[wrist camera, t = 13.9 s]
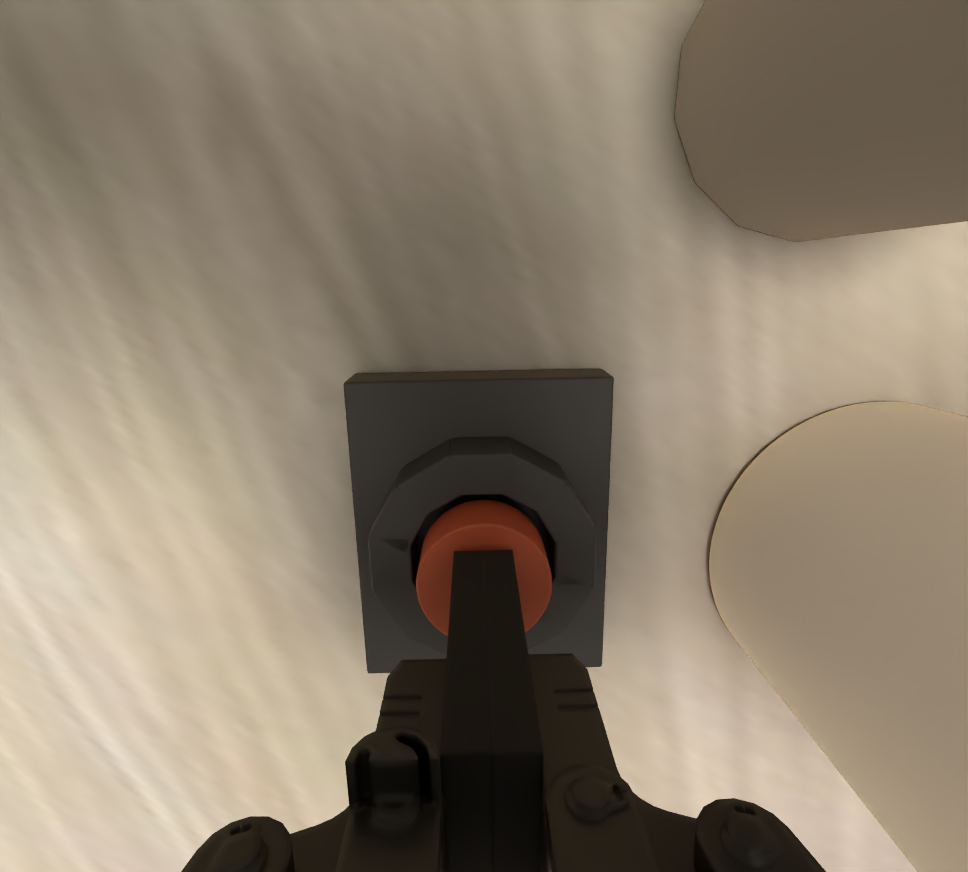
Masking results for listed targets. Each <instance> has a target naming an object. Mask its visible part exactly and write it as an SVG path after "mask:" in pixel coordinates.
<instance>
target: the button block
mask: <svg viewBox="0 0 968 872" xmlns="http://www.w3.org/2000/svg"><path fill="white" fill-rule="evenodd" d="M613 384H614V378H613V377H612V376H611V375H609V374H608V373H606V372H605V371H604V370H602V369H553V370H505V371H458V372H410V373H362V374H354V375H353V376H352V377H351V378H349V379H348V380H347V381H346V382H344V396H345V408H346V420H347V432H348V444H349V456H350V468H351V480H352V492H353V504H354V517H355V529H356V541H357V553H358V565H359V577H360V589H361V601H362V613H363V625H364V637H365V650H366V662H367V671H368V673H391V672H392V671H393V669H394V668H395V667H396V666H397V664H398V663H399V662H400V661H401V660H412V659H446V657H447V643H448V636H447V635H445V634H443V633H442V632H441V631H439V630H438V629H437V628H436V627H435V626H434V625H433V624H432V623H431V622H430V621H429V620H428V618H427V617H426V615H425V614H424V612H423V610H422V608H421V606H420V604H419V600H418V597H417V590H416V579H417V573H418V567H419V562H420V557H421V551H422V546H423V542H424V539H425V536H426V534H427V532H428V530H429V529H430V527H431V526H432V524H433V523H434V522H435V521H436V520H437V519H438V518H439V517H440V516H441V515H442V514H443V513H445V512H446V511H448V510H449V509H451V508H453V507H455V506H457V505H459V504H462V503H465V502H470V501H475V500H492V501H498V502H502V503H505V504H508V505H510V506H512V507H514V508H516V509H518V510H519V511H521V512H522V513H524V514H525V515H526V516H527V517H528V518H529V519H530V520H531V521H532V522H533V524H534V525H535V526H536V528H537V529H538V531H539V533H540V535H541V538H542V541H543V544H544V548H545V552H546V555H547V559H548V563H549V566H550V571H551V576H552V591H551V596H550V600H549V602H548V605H547V607H546V609H545V611H544V613H543V615H542V616H541V617H540V619H539V620H538V621H537V622H536V623H535V624H534V625H533V627H532V628H530V629H529V630H528V631H526V632H525V635H526V642H527V648H528V654H562V653H573V655H574V656H575V657H576V658H577V659H578V660H579V661H580V662H581V663H582V664H583V665H584V666H585V667H600V666H601V665H602V651H603V626H604V602H605V578H606V554H607V530H608V505H609V481H610V457H611V433H612V409H613Z"/></svg>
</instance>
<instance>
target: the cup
mask: <svg viewBox="0 0 968 872" xmlns="http://www.w3.org/2000/svg"><path fill="white" fill-rule="evenodd" d="M674 119H675V122H676V125H677V129H678V132H679V135H680V138H681V141H682V144H683V147H684V150H685V153H686V156H687V160H688V163H689V166H690V169H691V172H692V175H693V178H694V181H695V183H696V184H697V185H698V186H699V187H700V188H701V189H702V190H703V191H704V192H705V193H706V194H707V195H708V196H709V197H710V198H711V199H712V200H713V201H714V202H715V203H716V204H717V205H718V206H719V207H720V208H721V209H722V210H723V211H724V212H725V213H726V214H727V215H728V216H729V217H730V218H731V219H732V220H733V221H734V222H735V223H736V224H737V225H738V226H741V227H744V228H748V229H751V230H755V231H758V232H762V233H765V234H769V235H772V236H776V237H779V238H783V239H786V240H790V241H793V242H799V241H807V240H815V239H823V238H832V237H840V236H848V235H856V234H865V233H873V232H881V231H889V230H898V229H906V228H914V227H922V226H930V225H939V224H947V223H955V222H963V221H968V0H706V1H705V3H704V4H703V6H702V8H701V10H700V12H699V14H698V16H697V18H696V20H695V21H694V23H693V25H692V27H691V29H690V31H689V33H688V35H687V37H686V38H685V40H684V42H683V44H682V49H681V59H680V69H679V79H678V88H677V98H676V108H675V118H674Z"/></svg>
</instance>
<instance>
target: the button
mask: <svg viewBox="0 0 968 872" xmlns="http://www.w3.org/2000/svg"><path fill="white" fill-rule="evenodd" d="M477 550H513V556H514V563H515V570H516V576H517V583H518V589H519V596H520V602H521V609H522V616H523V622H524V629H525V632H526V631H528V630H529V629H530V628H532V627H533V625H534V624H535V623H536V622H537V621H538V620H539V619H540V617H541V616H542V615H543V613H544V611H545V609H546V607H547V605H548V602H549V600H550V596H551V591H552V576H551V571H550V566H549V563H548V559H547V555H546V552H545V548H544V544H543V541H542V538H541V535H540V533H539V531H538V529H537V528H536V526H535V525H534V524H533V522H532V521H531V520H530V519H529V518H528V517H527V516H526V515H525V514H524V513H522V512H521V511H519V510H518V509H516V508H514V507H512V506H510V505H508V504H505V503H502V502H498V501H492V500H475V501H470V502H465V503H462V504H459V505H457V506H455V507H453V508H451V509H449V510H448V511H446V512H445V513H443V514H442V515H441V516H440V517H439V518H438V519H437V520H436V521H435V522H434V523H433V524H432V526H431V527H430V529H429V530H428V532H427V534H426V536H425V539H424V542H423V546H422V551H421V557H420V562H419V567H418V573H417V579H416V590H417V597H418V600H419V604H420V606H421V608H422V610H423V612H424V614H425V615H426V617H427V618H428V620H429V621H430V622H431V623H432V624H433V625H434V626H435V627H436V628H437V629H438V630H439V631H441V632H442V633H443V634H445V635H447V636H448V628H449V613H450V598H451V584H452V569H453V554H454V551H477Z"/></svg>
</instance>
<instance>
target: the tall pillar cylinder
mask: <svg viewBox="0 0 968 872" xmlns="http://www.w3.org/2000/svg"><path fill="white" fill-rule="evenodd" d="M709 573H710V583H711V589H712V593H713V597H714V600H715V604H716V606H717V609H718V611H719V614H720V616H721V618H722V620H723V622H724V624H725V625H726V627H727V628H728V630H729V632H730V633H731V634H732V636H733V637H734V638H735V640H736V641H737V642H738V644H739V645H740V646H741V647H742V649H743V650H744V651H745V653H746V654H747V655H748V656H749V658H750V659H751V660H752V662H753V663H754V664H755V665H756V667H757V668H758V669H759V670H760V672H761V673H762V674H763V676H764V677H765V678H766V679H767V681H768V682H769V683H770V684H771V686H772V687H773V688H774V690H775V691H776V692H777V693H778V695H779V696H780V697H781V698H782V700H783V701H784V702H785V704H786V705H787V706H788V707H789V709H790V710H791V711H792V713H793V714H794V715H795V716H796V718H797V719H798V720H799V721H800V723H801V724H802V725H803V727H804V728H805V729H806V730H807V732H808V733H809V734H810V735H811V737H812V738H813V739H814V741H815V742H816V743H817V744H818V746H819V747H820V748H821V749H822V751H823V752H824V753H825V755H826V756H827V757H828V758H829V760H830V761H831V762H832V763H833V765H834V766H835V767H836V769H837V770H838V771H839V772H840V774H841V775H842V776H843V777H844V779H845V780H846V781H847V783H848V784H849V785H850V786H851V788H852V789H853V790H854V791H855V793H856V794H857V795H858V797H859V798H860V799H861V800H862V802H863V803H864V804H865V805H866V807H867V808H868V809H869V811H870V812H871V813H872V814H873V816H874V817H875V818H876V819H877V821H878V822H879V823H880V825H881V826H882V827H883V828H884V830H885V831H886V832H887V834H888V835H889V836H890V837H891V839H892V840H893V841H894V842H895V844H896V845H897V846H898V848H899V849H900V850H901V851H902V853H903V854H904V855H905V856H906V858H907V859H908V860H909V862H910V863H911V864H912V865H913V867H914V868H915V869H916V870H917V872H968V417H966V416H962V415H958V414H954V413H950V412H946V411H942V410H937V409H933V408H929V407H925V406H920V405H915V404H910V403H902V402H867V403H860V404H854V405H849V406H845V407H841V408H837V409H834V410H831V411H828V412H825V413H823V414H820V415H818V416H816V417H813V418H811V419H809V420H807V421H805V422H803V423H801V424H799V425H798V426H796V427H794V428H793V429H791V430H789V431H788V432H786V433H785V434H783V435H782V436H781V437H779V438H778V439H777V440H775V441H774V442H773V443H772V444H770V445H769V446H768V447H767V448H766V449H765V450H764V451H762V452H761V453H760V454H759V455H758V456H757V457H756V458H755V459H754V460H753V462H752V463H751V464H750V465H749V466H748V467H747V468H746V470H745V471H744V472H743V473H742V475H741V476H740V478H739V479H738V480H737V482H736V483H735V485H734V486H733V488H732V490H731V491H730V493H729V495H728V497H727V498H726V500H725V502H724V504H723V507H722V509H721V511H720V514H719V516H718V519H717V522H716V525H715V528H714V532H713V536H712V541H711V548H710V558H709Z"/></svg>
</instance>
